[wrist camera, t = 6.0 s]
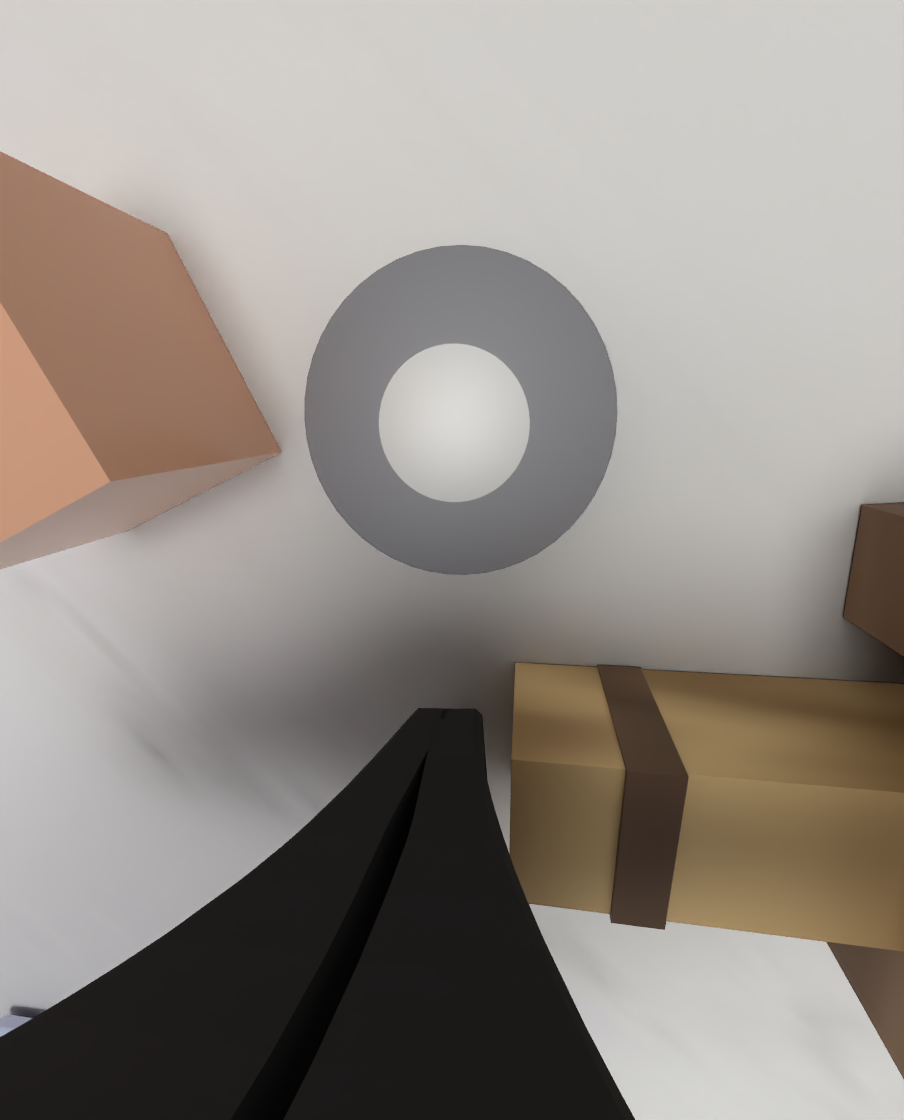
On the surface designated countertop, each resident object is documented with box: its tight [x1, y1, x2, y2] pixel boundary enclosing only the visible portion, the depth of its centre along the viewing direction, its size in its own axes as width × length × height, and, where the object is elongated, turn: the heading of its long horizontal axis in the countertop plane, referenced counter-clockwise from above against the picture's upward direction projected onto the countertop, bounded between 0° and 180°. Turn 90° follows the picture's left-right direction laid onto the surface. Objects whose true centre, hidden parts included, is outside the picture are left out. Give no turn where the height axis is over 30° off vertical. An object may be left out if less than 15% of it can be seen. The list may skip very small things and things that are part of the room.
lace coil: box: [305, 245, 617, 575], centre depth 8 cm, size 5×5×1 cm
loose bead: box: [0, 152, 281, 569], centre depth 7 cm, size 4×4×4 cm
